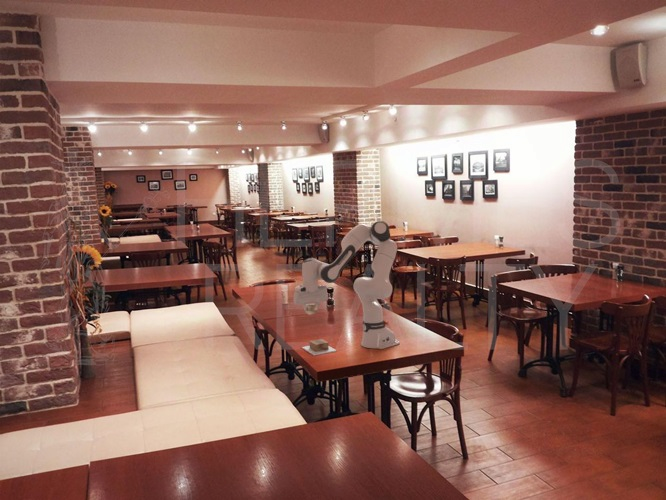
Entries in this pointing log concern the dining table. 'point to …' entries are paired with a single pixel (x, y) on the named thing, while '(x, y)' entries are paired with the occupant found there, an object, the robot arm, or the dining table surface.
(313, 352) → the white flat slab
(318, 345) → the walnut base
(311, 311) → the ash cube
